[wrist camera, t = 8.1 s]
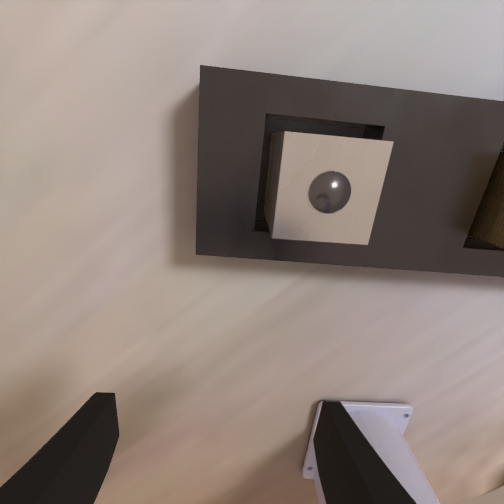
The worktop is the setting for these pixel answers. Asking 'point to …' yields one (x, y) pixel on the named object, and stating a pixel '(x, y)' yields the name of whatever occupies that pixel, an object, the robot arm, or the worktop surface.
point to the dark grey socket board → (394, 186)
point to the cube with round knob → (324, 186)
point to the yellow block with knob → (491, 209)
